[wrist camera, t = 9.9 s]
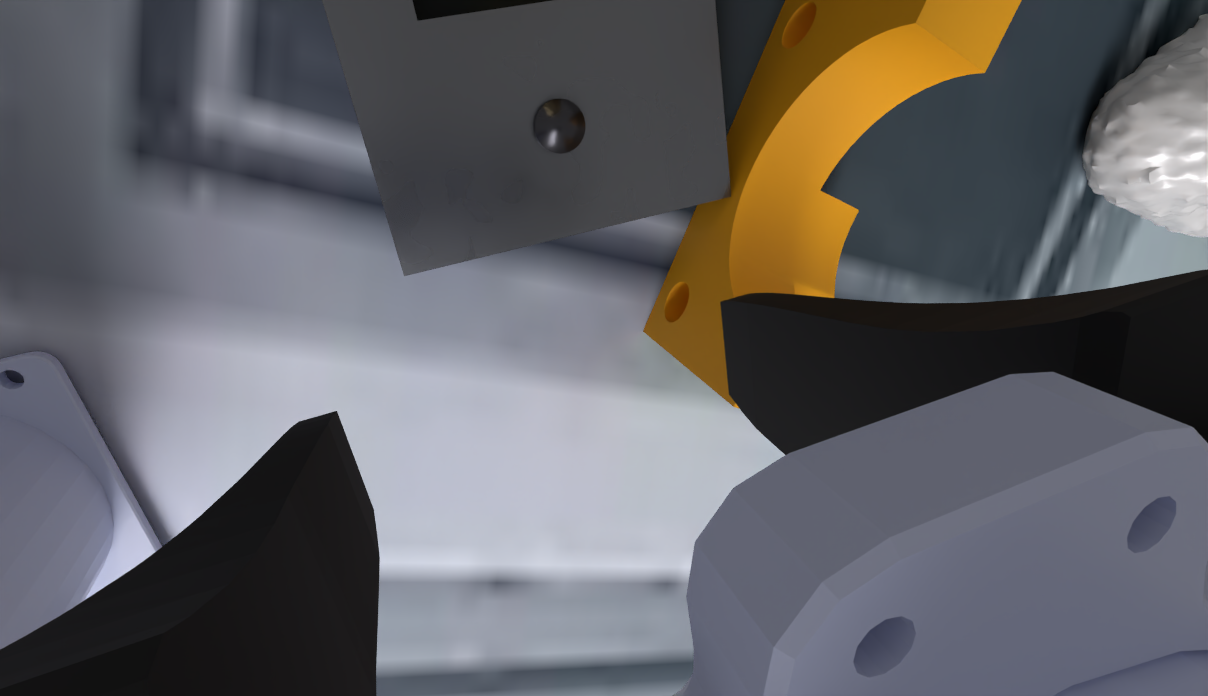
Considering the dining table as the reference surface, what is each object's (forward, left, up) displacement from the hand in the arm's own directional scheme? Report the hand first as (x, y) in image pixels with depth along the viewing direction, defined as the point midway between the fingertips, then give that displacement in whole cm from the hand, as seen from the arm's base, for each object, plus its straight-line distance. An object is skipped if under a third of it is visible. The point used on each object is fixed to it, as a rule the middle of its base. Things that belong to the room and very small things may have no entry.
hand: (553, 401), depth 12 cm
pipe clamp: (+10, 0, -10) cm, 14 cm away
